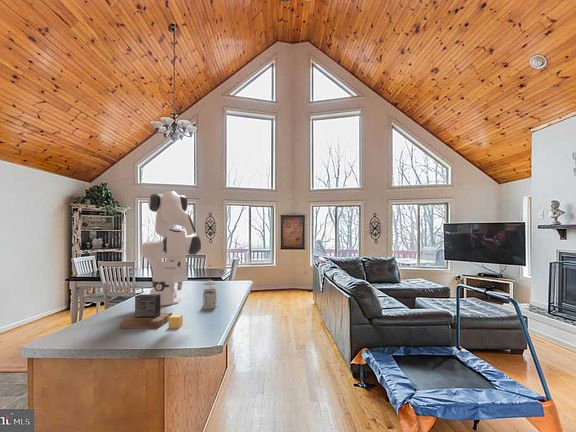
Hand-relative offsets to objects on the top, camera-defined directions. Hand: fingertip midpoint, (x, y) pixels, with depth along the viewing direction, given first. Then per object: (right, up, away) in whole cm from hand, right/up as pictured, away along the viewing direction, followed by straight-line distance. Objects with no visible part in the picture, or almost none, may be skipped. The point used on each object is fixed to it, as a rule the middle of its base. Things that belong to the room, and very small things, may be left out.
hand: (176, 291), depth 166 cm
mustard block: (0, -16, 0) cm, 16 cm away
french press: (+7, -18, +42) cm, 47 cm away
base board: (-16, -17, +6) cm, 24 cm away
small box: (-16, -14, +7) cm, 22 cm away
